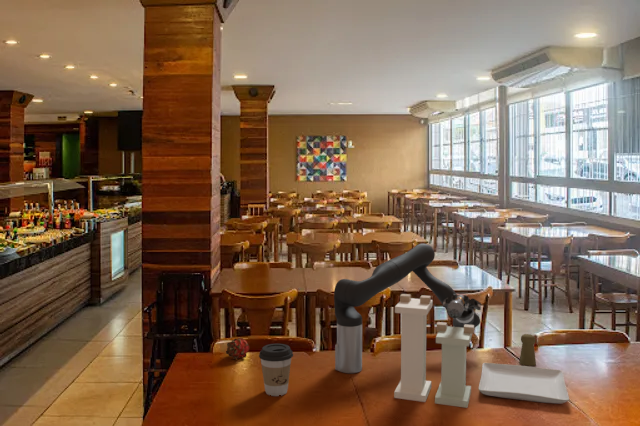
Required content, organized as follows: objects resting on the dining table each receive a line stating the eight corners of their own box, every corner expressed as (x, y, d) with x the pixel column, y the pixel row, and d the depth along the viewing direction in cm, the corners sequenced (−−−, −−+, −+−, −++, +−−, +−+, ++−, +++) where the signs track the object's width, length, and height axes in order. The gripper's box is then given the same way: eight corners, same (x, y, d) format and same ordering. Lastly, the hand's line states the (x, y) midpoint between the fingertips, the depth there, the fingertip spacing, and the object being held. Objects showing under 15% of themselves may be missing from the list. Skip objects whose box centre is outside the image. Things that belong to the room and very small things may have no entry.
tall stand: (394, 397, 182) (395, 300, 180) (402, 383, 195) (403, 291, 192) (425, 402, 179) (426, 302, 176) (431, 386, 191) (432, 294, 189)
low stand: (432, 403, 178) (433, 330, 176) (437, 387, 191) (439, 319, 189) (470, 408, 174) (471, 333, 172) (473, 392, 187) (474, 322, 185)
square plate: (562, 379, 199) (562, 368, 198) (569, 411, 173) (569, 399, 173) (482, 370, 207) (482, 360, 207) (477, 399, 182) (478, 388, 181)
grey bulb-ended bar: (462, 319, 179) (462, 303, 178) (446, 318, 181) (446, 302, 180) (468, 303, 198) (468, 289, 198) (453, 302, 200) (453, 288, 199)
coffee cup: (267, 401, 180) (266, 355, 179) (254, 389, 190) (253, 345, 189) (299, 394, 185) (299, 350, 184) (285, 382, 195) (284, 340, 194)
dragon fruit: (231, 367, 215) (239, 361, 227) (249, 354, 214) (256, 349, 226) (219, 348, 216) (227, 343, 227) (237, 336, 215) (244, 331, 227)
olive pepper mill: (537, 366, 210) (538, 337, 209) (520, 365, 212) (521, 336, 211) (534, 361, 216) (535, 332, 215) (517, 359, 217) (518, 332, 216)
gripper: (444, 299, 213) (440, 285, 199) (483, 302, 209) (481, 288, 194) (443, 319, 211) (438, 306, 196) (482, 322, 206) (480, 309, 191)
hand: (459, 297), depth 195 cm, fingers closed on grey bulb-ended bar, 3 cm apart
